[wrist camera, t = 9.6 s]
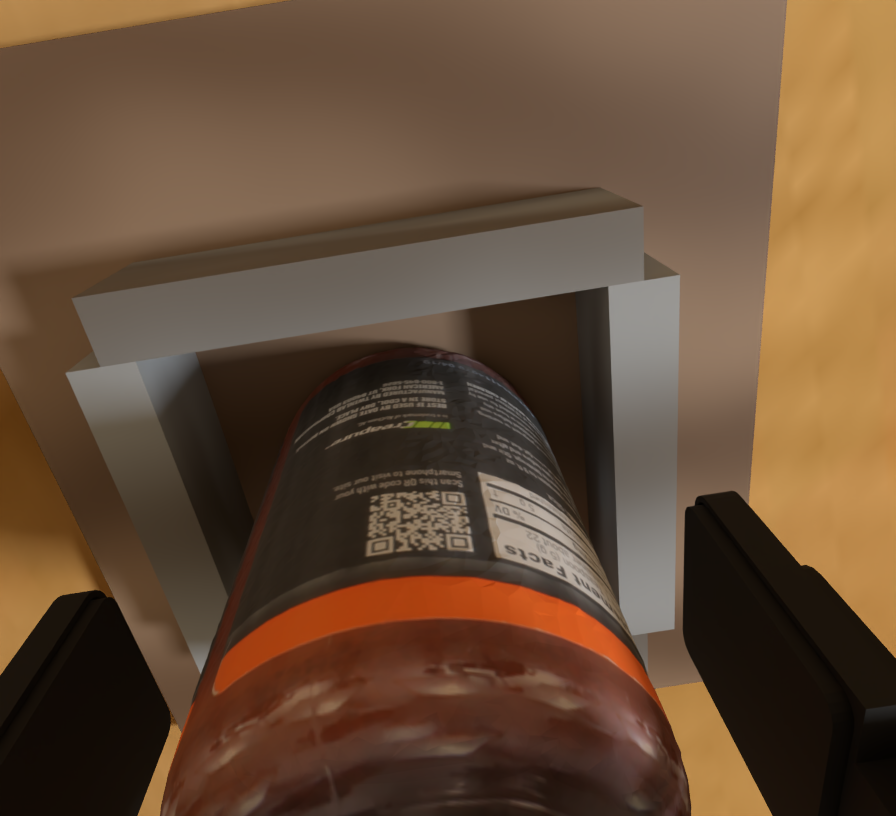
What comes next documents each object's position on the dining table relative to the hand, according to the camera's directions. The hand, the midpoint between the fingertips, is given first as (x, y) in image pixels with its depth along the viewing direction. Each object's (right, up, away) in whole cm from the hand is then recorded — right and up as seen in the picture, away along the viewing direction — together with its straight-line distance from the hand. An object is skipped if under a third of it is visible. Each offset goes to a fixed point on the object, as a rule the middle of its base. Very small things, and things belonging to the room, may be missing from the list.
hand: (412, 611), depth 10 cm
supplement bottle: (0, +2, +4) cm, 5 cm away
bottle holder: (0, +3, +5) cm, 6 cm away
